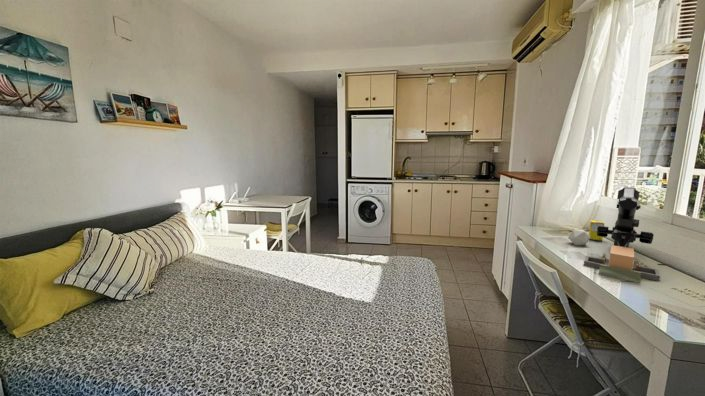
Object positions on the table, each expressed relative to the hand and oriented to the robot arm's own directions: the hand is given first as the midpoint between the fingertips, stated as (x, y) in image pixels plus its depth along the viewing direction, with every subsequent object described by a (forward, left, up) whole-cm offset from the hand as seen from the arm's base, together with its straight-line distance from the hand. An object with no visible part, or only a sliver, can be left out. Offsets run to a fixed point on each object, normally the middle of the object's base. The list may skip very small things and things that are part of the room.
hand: (621, 250), depth 129 cm
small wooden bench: (+9, 0, -6) cm, 11 cm away
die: (-21, -17, -6) cm, 28 cm away
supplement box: (-39, -11, -6) cm, 41 cm away
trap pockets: (+11, 0, -6) cm, 12 cm away
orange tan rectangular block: (+13, 0, -6) cm, 14 cm away
